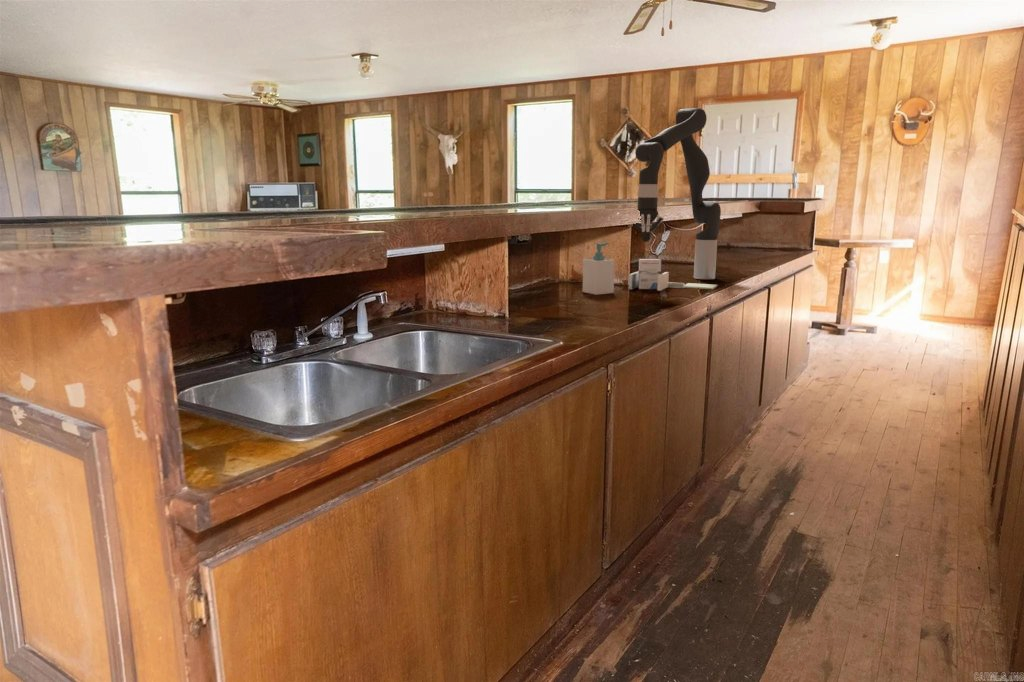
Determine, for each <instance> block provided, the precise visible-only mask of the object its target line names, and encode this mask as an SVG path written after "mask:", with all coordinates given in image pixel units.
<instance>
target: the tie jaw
mask: <svg viewBox="0 0 1024 682" xmlns="http://www.w3.org/2000/svg"><path fill="white" fill-rule="evenodd" d="M669 273H670V272H669V271H665V272H661V274H660V275H658V287H657V289H656V290H657V291H660V292H661V291H663V290H666V289H667V288H668V282H669V275H670V274H669Z"/></svg>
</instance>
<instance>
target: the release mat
mask: <svg viewBox="0 0 1024 682" xmlns="http://www.w3.org/2000/svg"><path fill="white" fill-rule="evenodd" d="M717 287H718V284H708V283H694V282H693V283H692V282H688V283H686V284H685V283H684V288H683V289H685V288H687V289H698V288H699V289H701V290H714V289H715V288H717Z"/></svg>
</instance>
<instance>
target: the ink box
mask: <svg viewBox="0 0 1024 682" xmlns="http://www.w3.org/2000/svg"><path fill="white" fill-rule="evenodd" d="M638 271H639V277H638V287H637V288H638V290H657V287H658V275H660V274H662V259H660V258H639V259H638Z"/></svg>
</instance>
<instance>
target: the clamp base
mask: <svg viewBox="0 0 1024 682" xmlns="http://www.w3.org/2000/svg"><path fill="white" fill-rule="evenodd" d="M638 277H639V270H638V271H635V272H632V273H630V274H629V275H628V290H634V289H636V288H638ZM684 285H685V282H673V281H672V282H671V281H668V287H667V288H670V289H671V288H672V289H685V288H684Z"/></svg>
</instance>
